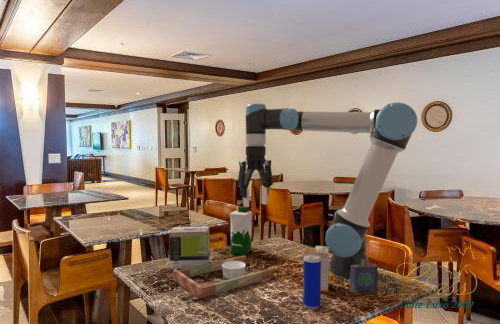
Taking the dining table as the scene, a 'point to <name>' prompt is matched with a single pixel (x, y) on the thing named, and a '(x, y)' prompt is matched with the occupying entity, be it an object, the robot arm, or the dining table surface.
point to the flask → (363, 278)
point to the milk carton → (241, 231)
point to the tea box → (189, 247)
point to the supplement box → (323, 265)
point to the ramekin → (233, 269)
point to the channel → (218, 287)
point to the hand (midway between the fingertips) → (255, 205)
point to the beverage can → (311, 281)
